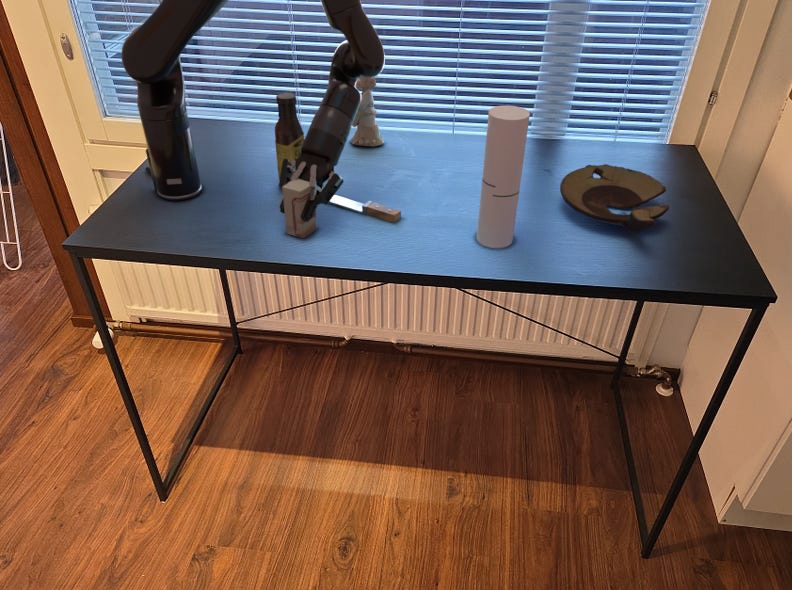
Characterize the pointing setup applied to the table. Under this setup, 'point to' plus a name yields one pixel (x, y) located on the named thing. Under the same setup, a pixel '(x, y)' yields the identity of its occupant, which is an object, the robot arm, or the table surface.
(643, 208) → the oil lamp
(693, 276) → the table surface
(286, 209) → the tan rectangular box
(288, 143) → the sauce bottle
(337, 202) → the knife
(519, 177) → the cylindrical container
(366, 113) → the figurine
